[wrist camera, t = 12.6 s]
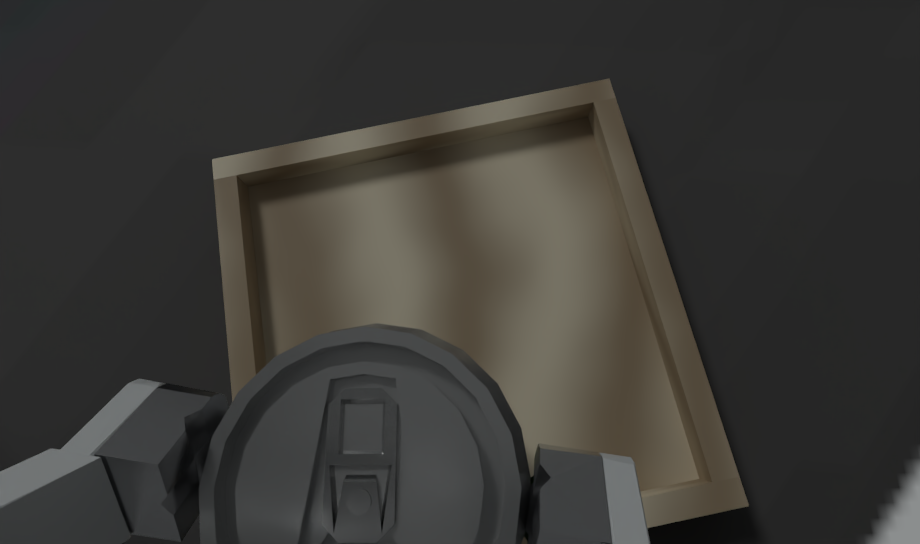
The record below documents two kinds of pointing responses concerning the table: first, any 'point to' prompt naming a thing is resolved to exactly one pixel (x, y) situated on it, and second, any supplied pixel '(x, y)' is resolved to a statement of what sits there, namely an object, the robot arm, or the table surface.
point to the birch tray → (489, 275)
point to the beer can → (367, 448)
